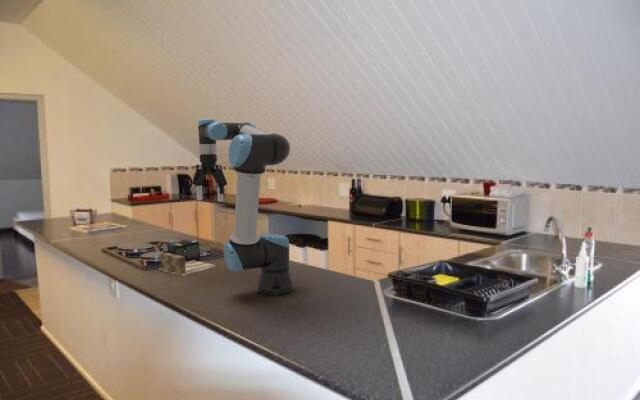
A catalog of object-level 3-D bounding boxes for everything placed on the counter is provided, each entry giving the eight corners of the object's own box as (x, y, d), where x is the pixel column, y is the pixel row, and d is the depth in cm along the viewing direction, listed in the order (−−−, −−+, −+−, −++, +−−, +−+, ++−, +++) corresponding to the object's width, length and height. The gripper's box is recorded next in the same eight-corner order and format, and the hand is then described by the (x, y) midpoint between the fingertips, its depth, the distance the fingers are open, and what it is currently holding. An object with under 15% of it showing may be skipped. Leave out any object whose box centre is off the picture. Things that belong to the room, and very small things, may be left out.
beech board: (216, 266, 238) (216, 250, 237) (183, 276, 223) (182, 258, 221) (192, 261, 249) (191, 245, 248) (158, 269, 233) (158, 253, 232)
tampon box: (162, 244, 247) (187, 239, 257) (163, 262, 247) (188, 256, 258) (174, 245, 239) (199, 241, 250) (175, 264, 240) (200, 258, 251)
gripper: (234, 153, 217) (235, 201, 220) (195, 153, 231) (197, 198, 234) (221, 153, 211) (223, 202, 213) (183, 154, 225) (185, 200, 228)
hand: (210, 200), depth 224 cm, fingers open, 13 cm apart
